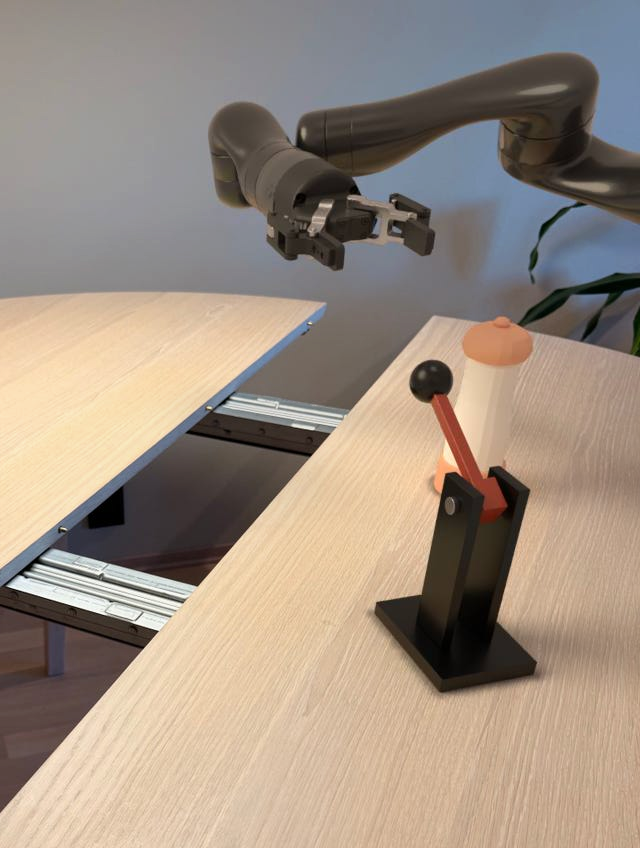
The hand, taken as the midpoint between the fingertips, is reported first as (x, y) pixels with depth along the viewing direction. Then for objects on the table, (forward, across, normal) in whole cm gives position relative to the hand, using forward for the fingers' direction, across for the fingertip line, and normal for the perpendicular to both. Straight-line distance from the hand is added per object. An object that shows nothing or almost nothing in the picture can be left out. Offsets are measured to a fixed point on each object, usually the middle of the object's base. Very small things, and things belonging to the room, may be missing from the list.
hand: (385, 251), depth 85 cm
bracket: (+21, +2, -27) cm, 34 cm away
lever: (+14, 0, -12) cm, 18 cm away
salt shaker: (-4, -16, -30) cm, 34 cm away
